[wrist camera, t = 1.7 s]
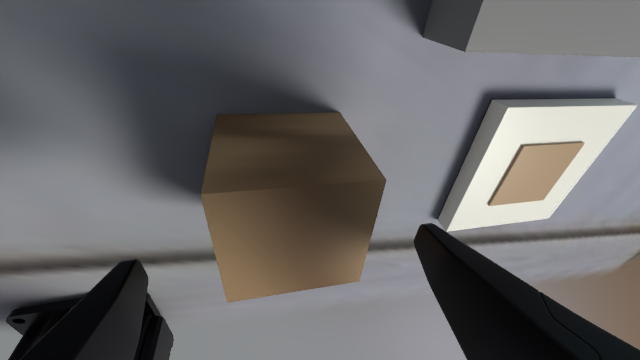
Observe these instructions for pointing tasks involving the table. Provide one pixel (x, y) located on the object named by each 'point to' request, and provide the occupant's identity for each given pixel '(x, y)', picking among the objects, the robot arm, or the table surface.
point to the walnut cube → (288, 202)
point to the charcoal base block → (537, 26)
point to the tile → (529, 158)
